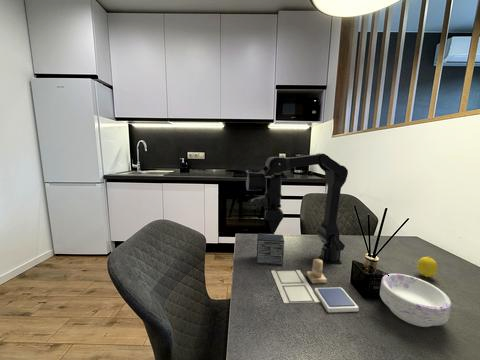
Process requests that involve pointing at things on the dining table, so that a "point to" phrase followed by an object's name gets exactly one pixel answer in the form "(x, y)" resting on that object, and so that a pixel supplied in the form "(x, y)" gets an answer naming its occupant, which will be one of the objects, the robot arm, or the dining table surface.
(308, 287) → the print sheet
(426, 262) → the lemon
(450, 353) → the dining table surface
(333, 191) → the robot arm
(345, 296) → the ink pad
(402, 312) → the paper bowls
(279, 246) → the small box
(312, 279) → the stamp
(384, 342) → the dining table surface
